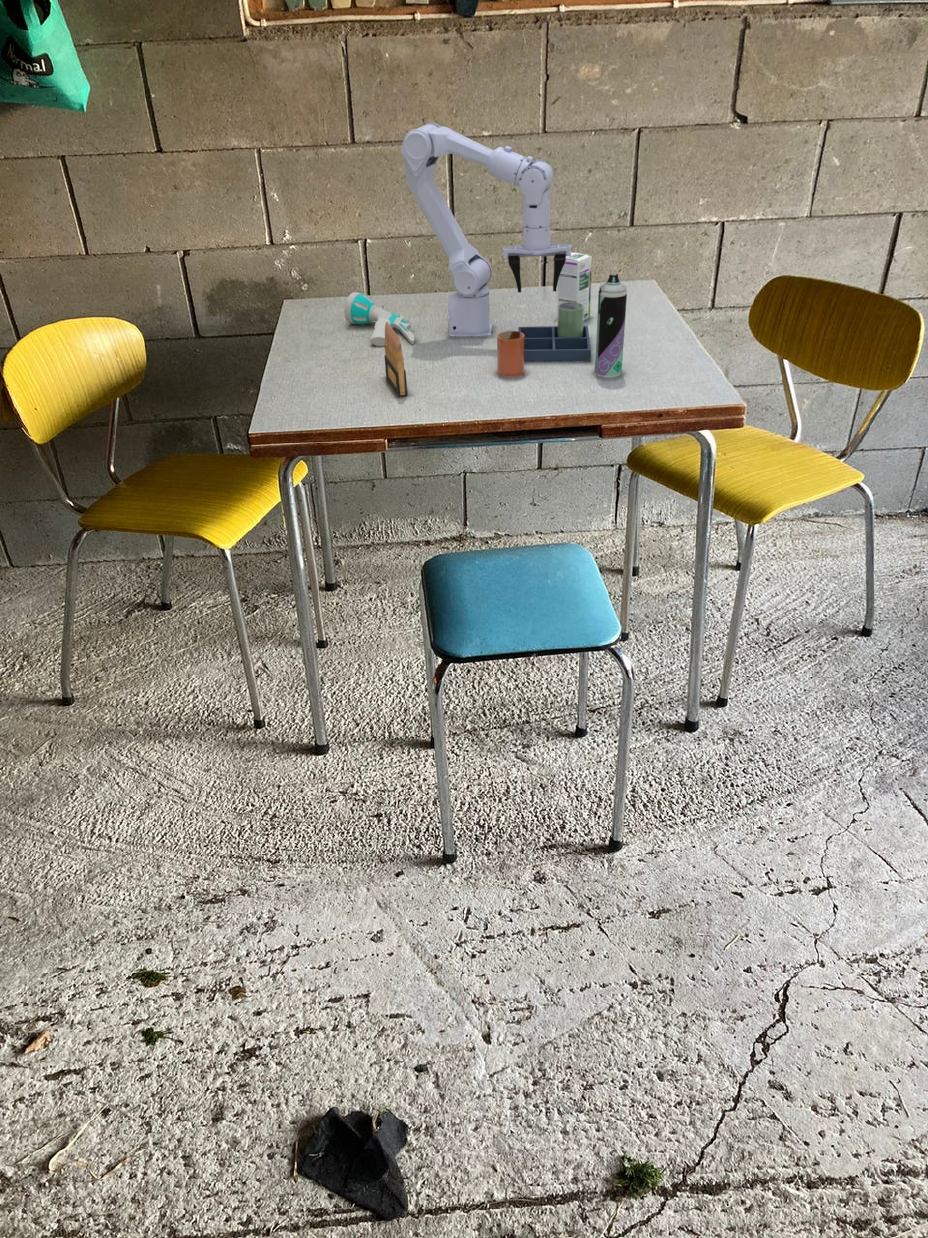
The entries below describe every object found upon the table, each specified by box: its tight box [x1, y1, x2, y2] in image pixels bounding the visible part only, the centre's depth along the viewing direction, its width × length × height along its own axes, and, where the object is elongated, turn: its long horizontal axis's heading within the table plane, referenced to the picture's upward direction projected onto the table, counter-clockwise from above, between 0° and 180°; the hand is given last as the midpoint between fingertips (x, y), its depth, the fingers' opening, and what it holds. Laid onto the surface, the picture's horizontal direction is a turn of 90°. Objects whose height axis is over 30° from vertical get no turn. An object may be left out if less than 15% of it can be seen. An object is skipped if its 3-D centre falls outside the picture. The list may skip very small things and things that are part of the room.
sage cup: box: [557, 302, 585, 338], centre depth 205 cm, size 6×6×8 cm
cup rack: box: [517, 325, 592, 363], centre depth 204 cm, size 15×15×3 cm
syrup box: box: [556, 251, 593, 320], centre depth 217 cm, size 6×6×14 cm
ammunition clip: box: [384, 322, 408, 398], centre depth 188 cm, size 11×2×12 cm, turn 18°
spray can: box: [594, 273, 628, 378], centre depth 187 cm, size 6×6×20 cm
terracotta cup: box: [496, 330, 525, 378], centre depth 193 cm, size 6×6×8 cm
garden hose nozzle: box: [343, 291, 416, 347], centre depth 218 cm, size 7×18×20 cm
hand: (537, 290), depth 206 cm, fingers open, 7 cm apart
